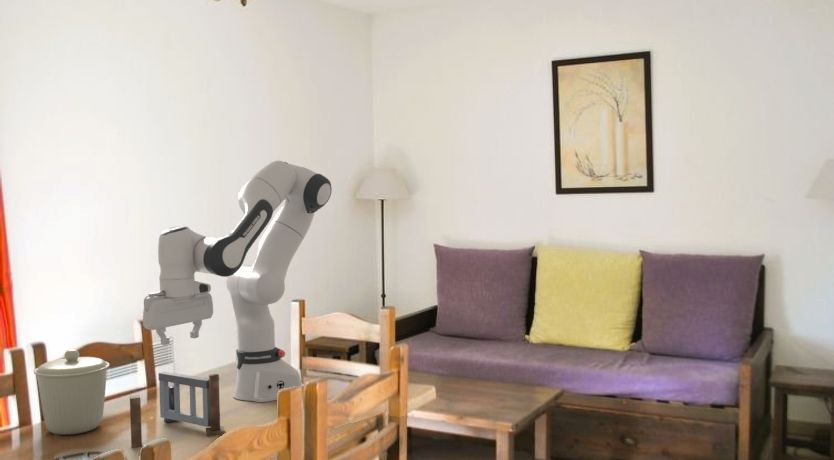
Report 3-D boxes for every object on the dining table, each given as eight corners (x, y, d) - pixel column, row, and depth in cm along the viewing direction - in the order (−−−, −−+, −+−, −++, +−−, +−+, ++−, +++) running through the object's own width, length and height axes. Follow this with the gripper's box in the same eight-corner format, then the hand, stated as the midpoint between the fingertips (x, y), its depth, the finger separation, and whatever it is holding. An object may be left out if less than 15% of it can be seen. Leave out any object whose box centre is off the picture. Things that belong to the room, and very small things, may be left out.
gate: (213, 425, 203) (211, 379, 203) (207, 427, 202) (206, 380, 201) (165, 415, 213) (164, 371, 212) (159, 417, 211) (158, 373, 210)
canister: (34, 444, 195) (31, 359, 194) (37, 424, 211) (34, 346, 210) (113, 434, 202) (110, 352, 201) (110, 416, 218) (107, 340, 217)
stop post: (182, 416, 217) (181, 384, 217) (183, 421, 212) (182, 388, 212) (163, 418, 215) (162, 385, 215) (164, 423, 211) (163, 390, 210)
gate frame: (223, 429, 204) (221, 372, 204) (226, 436, 199) (224, 377, 198) (131, 440, 197) (129, 380, 196) (131, 447, 191) (129, 386, 190)
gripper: (151, 294, 197) (154, 349, 197) (215, 284, 213) (218, 335, 214) (136, 293, 200) (138, 347, 201) (200, 283, 217) (202, 333, 218)
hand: (180, 341), depth 208 cm, fingers open, 8 cm apart
